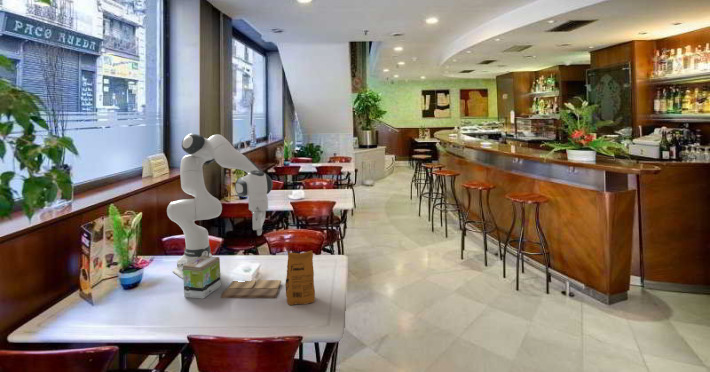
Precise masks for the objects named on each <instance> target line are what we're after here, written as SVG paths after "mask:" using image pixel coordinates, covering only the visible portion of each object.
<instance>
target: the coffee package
mask: <svg viewBox="0 0 710 372" xmlns="http://www.w3.org/2000/svg"><path fill="white" fill-rule="evenodd" d="M313 259H314V253H313V250H309V251H304V252H301V253H299V252H287V262H286V263H287V265H286V277H285V297H286V302H287V305H289V306H295V305H307V304H311V303H312V304H313V303H314V302H315V298H316V296H315V295H316V291H315V281H314V278H315V277H314V276H315V274H314V273H315V271H314V262H313V261H314V260H313Z"/></svg>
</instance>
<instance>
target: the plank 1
mask: <svg viewBox="0 0 710 372" xmlns="http://www.w3.org/2000/svg"><path fill="white" fill-rule="evenodd" d="M256 283H257V280H254V279H253V280H251V281H245V282H238V281H233V280H232V281H231V283H230V284H229V285H228V287H227V289H254V287H255V285H256Z"/></svg>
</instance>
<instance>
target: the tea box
mask: <svg viewBox="0 0 710 372" xmlns="http://www.w3.org/2000/svg"><path fill="white" fill-rule="evenodd" d="M220 261H221V260H220V256H212V257H210V256H200V257H198V258H197V259H195V260H193V261H191V262H189V263H187V264H185V265H184V266H183V279H182V280H183V295H184V298H191V299H205V298H206V297H208V296H209V295H211V293H213V292H214V291H216V290H217V289H219V288H220V287H221V285H222V284H221V262H220Z"/></svg>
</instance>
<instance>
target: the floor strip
mask: <svg viewBox="0 0 710 372" xmlns="http://www.w3.org/2000/svg"><path fill="white" fill-rule="evenodd" d="M278 293H279V289H254V288H253V289H228V288H225V290H224V291H223V292H222V293H221V294H220V299H225V298H226V299H230V298H231V299H236V298H237V299H275V298H276V297H277V295H278Z"/></svg>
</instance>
